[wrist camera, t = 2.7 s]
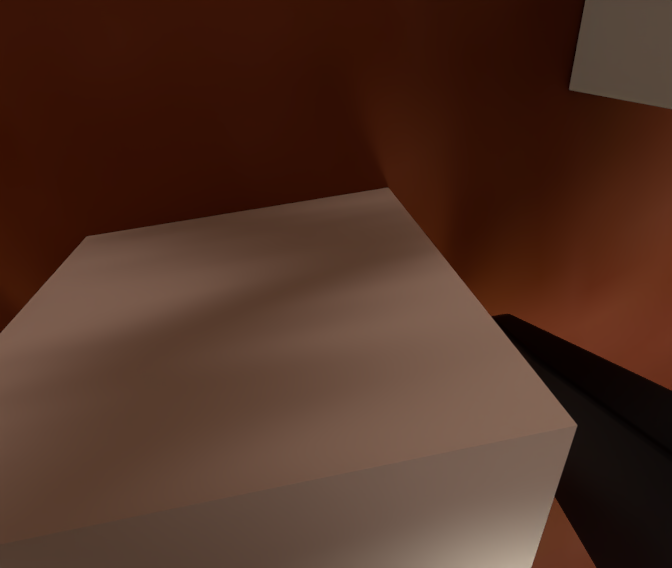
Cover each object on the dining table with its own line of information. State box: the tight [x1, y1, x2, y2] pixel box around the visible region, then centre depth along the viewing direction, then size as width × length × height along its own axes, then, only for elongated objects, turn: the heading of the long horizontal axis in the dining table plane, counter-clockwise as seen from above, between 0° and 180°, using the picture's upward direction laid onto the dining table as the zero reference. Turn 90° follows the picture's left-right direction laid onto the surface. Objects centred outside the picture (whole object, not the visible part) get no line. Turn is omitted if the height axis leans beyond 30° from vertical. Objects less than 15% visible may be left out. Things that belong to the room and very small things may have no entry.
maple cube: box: [0, 188, 577, 568], centre depth 7 cm, size 6×6×6 cm
